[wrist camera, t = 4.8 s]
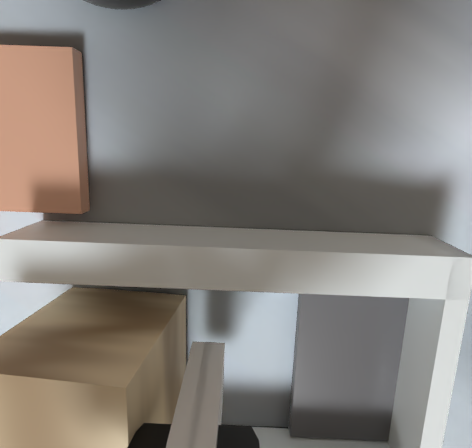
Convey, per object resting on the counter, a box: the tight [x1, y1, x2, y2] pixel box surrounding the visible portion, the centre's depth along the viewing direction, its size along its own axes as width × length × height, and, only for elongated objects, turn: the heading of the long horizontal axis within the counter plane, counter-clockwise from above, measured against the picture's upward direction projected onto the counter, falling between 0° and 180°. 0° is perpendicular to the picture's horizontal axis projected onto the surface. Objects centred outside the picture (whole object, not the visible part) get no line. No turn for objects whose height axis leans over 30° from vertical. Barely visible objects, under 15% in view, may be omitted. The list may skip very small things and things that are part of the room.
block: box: [0, 287, 186, 448], centre depth 13 cm, size 5×5×6 cm
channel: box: [0, 220, 472, 448], centre depth 15 cm, size 16×11×3 cm
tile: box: [0, 45, 90, 214], centre depth 14 cm, size 6×6×1 cm
